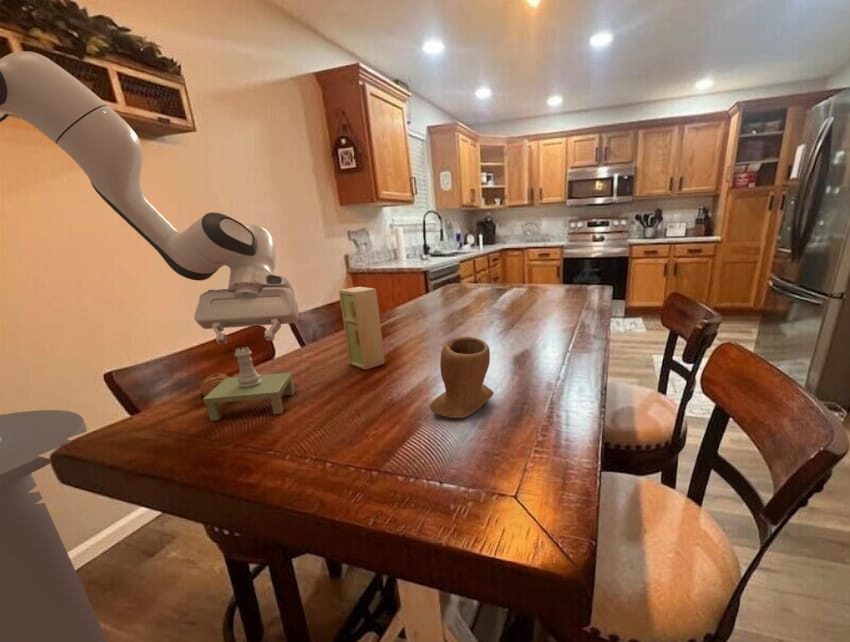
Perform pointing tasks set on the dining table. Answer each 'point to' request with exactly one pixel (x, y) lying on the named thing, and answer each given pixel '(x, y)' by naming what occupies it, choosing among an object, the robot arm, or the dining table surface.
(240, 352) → the rook chess piece
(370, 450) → the dining table surface
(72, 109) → the robot arm
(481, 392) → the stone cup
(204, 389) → the pastry
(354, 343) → the toy refrigerator
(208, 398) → the green miniature table
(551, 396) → the dining table surface
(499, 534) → the dining table surface
